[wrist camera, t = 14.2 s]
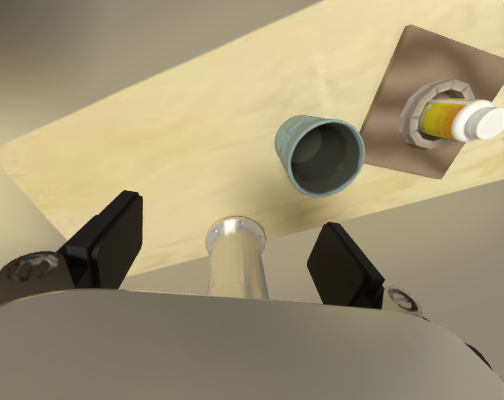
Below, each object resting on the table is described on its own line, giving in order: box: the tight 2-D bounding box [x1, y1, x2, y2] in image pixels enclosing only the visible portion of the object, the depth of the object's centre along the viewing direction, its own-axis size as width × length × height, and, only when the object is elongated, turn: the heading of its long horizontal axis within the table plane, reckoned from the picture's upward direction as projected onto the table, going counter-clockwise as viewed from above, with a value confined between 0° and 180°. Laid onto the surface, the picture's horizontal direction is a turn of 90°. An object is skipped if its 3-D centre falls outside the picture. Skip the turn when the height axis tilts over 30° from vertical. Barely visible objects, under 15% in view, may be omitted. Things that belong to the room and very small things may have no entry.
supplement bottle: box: [417, 98, 504, 142], centre depth 32 cm, size 6×6×10 cm
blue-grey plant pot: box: [275, 115, 365, 197], centre depth 33 cm, size 10×10×12 cm
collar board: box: [359, 25, 504, 179], centre depth 36 cm, size 20×20×4 cm
